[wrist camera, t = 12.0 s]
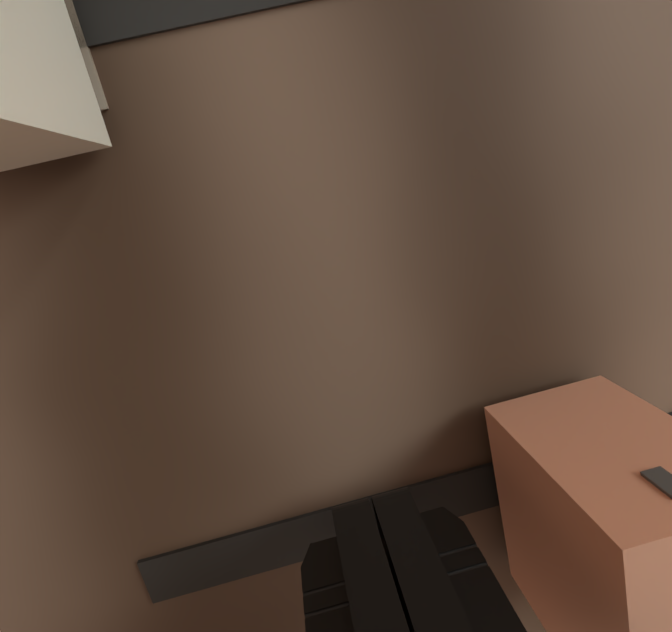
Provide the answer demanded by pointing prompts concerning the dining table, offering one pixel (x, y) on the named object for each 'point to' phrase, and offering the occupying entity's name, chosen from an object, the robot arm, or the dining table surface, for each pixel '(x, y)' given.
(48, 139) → the cream fader
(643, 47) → the console
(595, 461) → the terracotta fader
